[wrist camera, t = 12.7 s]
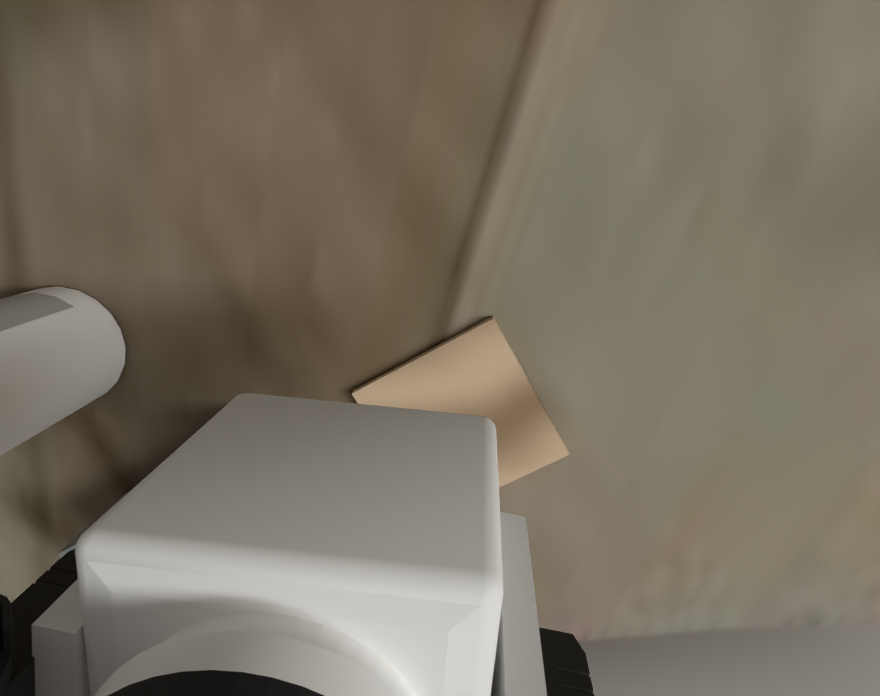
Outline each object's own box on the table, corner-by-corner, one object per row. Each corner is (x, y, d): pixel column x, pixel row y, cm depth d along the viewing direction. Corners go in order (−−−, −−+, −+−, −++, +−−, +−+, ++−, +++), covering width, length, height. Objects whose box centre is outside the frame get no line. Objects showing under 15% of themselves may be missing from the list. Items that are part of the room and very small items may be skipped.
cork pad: (353, 390, 34) (351, 393, 34) (493, 316, 33) (493, 318, 32) (432, 513, 36) (431, 519, 36) (567, 449, 35) (569, 454, 34)
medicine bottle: (240, 605, 19) (-158, 1312, 7) (237, 387, 17) (-330, 874, 5) (472, 632, 18) (453, 1419, 7) (497, 413, 16) (528, 998, 5)
